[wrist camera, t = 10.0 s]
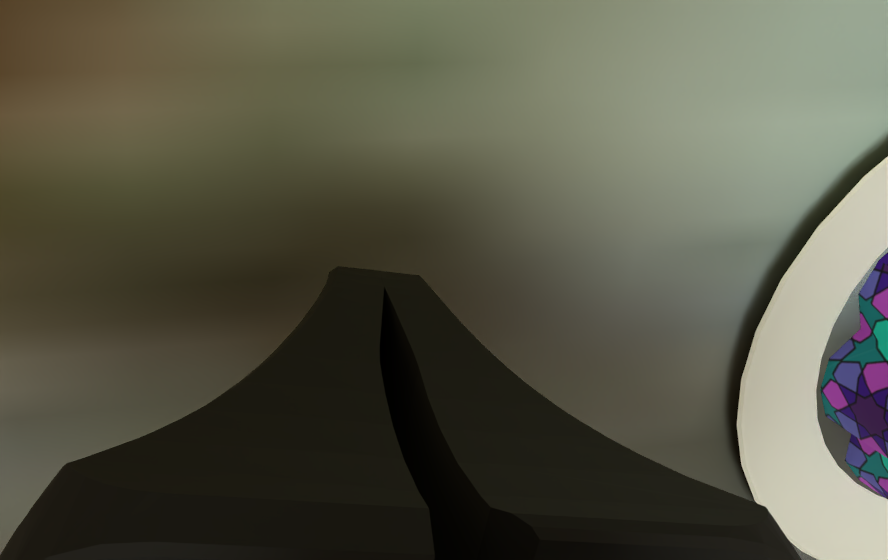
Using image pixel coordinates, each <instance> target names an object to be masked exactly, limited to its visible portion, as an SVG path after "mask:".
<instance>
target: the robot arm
mask: <svg viewBox="0 0 888 560" xmlns="http://www.w3.org/2000/svg"><path fill="white" fill-rule="evenodd" d="M0 560H801V558H800V557H799V555H798V554H797V552H796V551H795V549H794V548H793V546H792V545H791V543H790V542H789V540H788V539H787V537H786V536H785V534H784V533H783V531H782V530H781V528H780V527H779V525H778V524H777V522H776V521H775V519H774V518H773V516H772V515H771V513H770V512H769V511H768V509H767V508H766V507H765V506H762V505H760V504H757V503H754V502H752V501H749V500H747V499H744V498H741V497H739V496H736V495H734V494H731V493H728V492H726V491H723V490H720V489H718V488H715V487H713V486H710V485H707V484H705V483H702V482H700V481H697V480H694V479H692V478H689V477H687V476H685V475H682V474H680V473H678V472H676V471H673V470H671V469H669V468H667V467H665V466H663V465H661V464H659V463H656V462H654V461H652V460H650V459H648V458H646V457H644V456H642V455H640V454H638V453H636V452H634V451H632V450H630V449H628V448H626V447H624V446H622V445H620V444H619V443H617V442H615V441H613V440H611V439H609V438H608V437H606V436H604V435H603V434H601V433H599V432H598V431H596V430H594V429H592V428H591V427H589V426H587V425H586V424H584V423H582V422H581V421H579V420H577V419H576V418H574V417H573V416H571V415H570V414H568V413H567V412H565V411H563V410H562V409H560V408H559V407H557V406H556V405H555V404H553V403H552V402H551V401H549V400H548V399H547V398H545V397H544V396H542V395H541V394H540V393H538V392H537V391H536V390H534V389H533V388H532V387H530V386H529V385H528V384H526V383H525V382H524V381H523V380H521V379H520V378H519V377H518V376H516V375H515V374H514V373H513V372H512V371H510V370H509V369H508V368H507V367H506V366H505V365H504V364H503V363H502V362H501V361H499V360H498V359H497V358H496V357H495V356H494V355H493V354H492V353H491V352H490V351H488V350H487V349H486V348H485V347H484V346H483V345H482V344H481V343H480V342H479V341H478V340H477V339H476V338H475V337H474V336H473V335H472V334H471V333H470V332H469V331H468V329H467V328H466V327H465V326H464V325H463V324H462V323H461V322H460V321H459V320H458V319H457V318H456V317H455V315H454V314H453V313H452V312H451V311H450V310H449V309H448V308H447V306H446V305H445V304H444V303H443V302H442V301H441V300H440V298H439V297H438V296H437V295H436V294H435V293H434V291H433V290H432V289H431V288H430V287H429V286H428V284H427V283H426V282H425V281H424V280H423V279H422V278H421V277H420V276H419V275H410V274H401V273H393V272H384V271H375V270H366V269H357V268H348V267H339V266H338V267H336V268H335V269H333V270H332V271H331V272H329V278H328V280H327V283H326V285H325V287H324V289H323V291H322V292H321V294H320V296H319V297H318V299H317V301H316V302H315V304H314V305H313V306H312V308H311V309H310V310H309V312H308V313H307V314H306V316H305V317H304V318H303V320H302V321H301V322H300V324H299V325H298V326H297V327H296V329H295V330H294V331H293V332H292V333H291V334H290V335H289V336H288V337H287V338H286V339H285V341H284V342H283V343H282V344H281V345H280V346H279V347H278V348H277V349H276V350H275V351H274V352H273V353H272V354H271V355H270V356H269V357H268V358H267V359H266V360H265V361H264V362H263V363H262V364H261V365H259V366H258V367H257V368H256V369H255V370H254V371H252V372H251V373H250V374H249V375H248V376H246V377H245V378H244V379H243V380H241V381H240V382H239V383H238V384H236V385H235V386H233V387H232V388H230V389H229V390H228V391H226V392H225V393H223V394H222V395H221V396H219V397H218V398H216V399H215V400H213V401H212V402H210V403H209V404H207V405H206V406H204V407H202V408H200V409H198V410H197V411H195V412H193V413H191V414H189V415H187V416H185V417H183V418H181V419H180V420H178V421H176V422H173V423H171V424H169V425H167V426H165V427H163V428H161V429H158V430H156V431H154V432H152V433H150V434H147V435H145V436H143V437H140V438H138V439H135V440H133V441H130V442H127V443H124V444H121V445H119V446H116V447H113V448H110V449H108V450H105V451H102V452H99V453H96V454H94V455H91V456H88V457H85V458H82V459H79V460H76V461H73V462H69V463H67V464H66V465H64V466H63V467H62V469H61V470H60V471H59V472H58V474H57V475H56V476H55V477H54V479H53V480H52V481H51V483H50V484H49V485H48V487H47V488H46V489H45V491H44V492H43V493H42V495H41V496H40V497H39V499H38V500H37V501H36V503H35V504H34V505H33V507H32V508H31V510H30V511H29V513H28V514H27V516H26V517H25V518H24V520H23V521H22V522H21V524H20V525H19V526H18V528H17V529H16V531H15V532H14V534H13V535H12V537H11V539H10V540H9V542H8V543H7V545H6V547H5V548H4V550H3V552H2V553H1V555H0Z"/></svg>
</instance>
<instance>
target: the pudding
mask: <svg viewBox="0 0 888 560" xmlns="http://www.w3.org/2000/svg"><path fill="white" fill-rule="evenodd" d="M887 247H888V157H886V158H885V159H884V160H883V161H882V162H880V163H879V164H878V165H877V166H876V167H874V168H873V169H872V170H871V171H870V172H869V173H867V174H866V175H865V176H864V177H863V178H862V179H861V180H860V181H859V182H858V183H857V185H856V186H855V187H854V188H853V189H852V190H851V191H850V192H849V193H848V194H847V195H846V197H845V198H844V199H843V200H842V201H841V202H840V203H839V204H838V205H837V206H836V207H835V209H834V210H833V211H832V212H831V213H830V214H829V215H828V216H827V217H826V218H825V219H824V220H823V222H822V223H821V224H820V225H819V226H818V227H817V229H816V230H815V231H814V233H813V234H812V236H811V237H810V239H809V240H808V242H807V243H806V244H805V246H804V247H803V249H802V250H801V252H800V253H799V254H798V256H797V257H796V259H795V260H794V262H793V263H792V265H791V266H790V267H789V269H788V270H787V272H786V273H785V275H784V276H783V278H782V279H781V281H780V283H779V285H778V287H777V289H776V291H775V293H774V295H773V297H772V299H771V301H770V303H769V305H768V307H767V309H766V311H765V313H764V315H763V317H762V319H761V321H760V323H759V325H758V327H757V330H756V332H755V336H754V339H753V342H752V345H751V349H750V352H749V355H748V359H747V362H746V365H745V369H744V372H743V375H742V379H741V387H740V397H739V406H738V416H737V432H738V441H739V449H740V458H741V465H742V468H743V471H744V473H745V476H746V479H747V481H748V484H749V487H750V489H751V492H752V494H753V497H754V500H755V501H756V503H757V504H760V505H762V506H765V507H766V508H767V509H768V511H769V512H770V513H771V515H772V516H773V518H774V519H775V521H776V522H777V524H778V525H779V527H780V528H781V530H782V531H783V533H784V534H785V536H786V537H787V539H788V540H789V541H790V542H791V543H793V544H794V545H795V546H796V547H797V548H799V549H800V550H801V551H802V552H804V553H806V554H808V555H810V556H812V557H814V558H816V559H818V560H888V253H887V254H886V255H884V256H883V257H882V258H881V259H880V260H879V261H878V263H877V265H876V266H875V268H874V270H873V271H872V273H871V274H870V276H869V278H868V279H867V281H866V283H865V284H864V286H863V288H862V289H861V291H860V293H859V308H860V323H861V329H860V330H859V331H858V332H857V333H856V334H855V335H854V336H853V337H852V338H851V339H849V340H848V341H847V342H846V343H845V344H844V345H843V346H842V347H841V348H840V349H839V350H838V351H837V352H836V353H835V354H834V355H833V356H832V357H830V358H829V362H828V365H827V368H826V372H825V375H824V379H823V382H822V385H821V389H820V391H821V395H822V400H823V405H824V410H825V415H826V416H827V417H828V418H829V419H831V420H832V421H834V422H835V423H837V424H838V425H840V426H841V427H843V428H844V429H846V430H847V431H848V432H850V433H851V438H850V442H849V447H848V451H847V455H846V459H845V461H846V462H847V464H848V465H849V467H850V468H851V469H852V471H853V472H854V474H855V475H856V476H857V478H858V479H859V480H860V481H861V482H863V483H864V484H866V485H867V486H869V487H870V488H872V489H873V490H875V491H876V492H878V493H879V494H880V495H882V496H883V497H885V498H883V497H880V496H877V495H875V494H874V493H872V492H870V491H869V490H867V489H865V488H863V487H862V486H860V485H858V484H857V483H855V482H854V481H853V480H852V479H851V478H850V477H849V476H848V475H847V474H846V473H845V472H844V471H843V470H842V469H841V468H840V467H839V466H838V465H837V464H836V462H835V460H834V459H833V457H832V455H831V454H830V452H829V450H828V449H827V447H826V445H825V443H824V440H823V436H822V433H821V430H820V426H819V423H818V419H817V400H816V388H817V382H818V375H819V369H820V363H821V358H822V355H823V353H824V350H825V347H826V344H827V341H828V339H829V336H830V333H831V330H832V327H833V325H834V323H835V321H836V320H837V318H838V316H839V314H840V312H841V311H842V309H843V307H844V305H845V303H846V301H847V300H848V298H849V296H850V294H851V292H852V291H853V290H854V288H855V287H856V286H857V284H858V283H859V282H860V280H861V279H862V278H863V276H864V275H865V274H866V272H867V271H868V269H869V268H870V267H871V265H872V264H873V263H874V261H875V260H876V259H877V258H878V257H879V256H880V255H881V254H882V253H883V252H884V250H885V249H886V248H887Z"/></svg>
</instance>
